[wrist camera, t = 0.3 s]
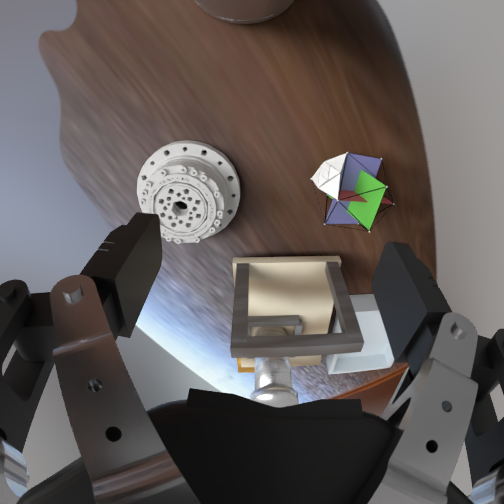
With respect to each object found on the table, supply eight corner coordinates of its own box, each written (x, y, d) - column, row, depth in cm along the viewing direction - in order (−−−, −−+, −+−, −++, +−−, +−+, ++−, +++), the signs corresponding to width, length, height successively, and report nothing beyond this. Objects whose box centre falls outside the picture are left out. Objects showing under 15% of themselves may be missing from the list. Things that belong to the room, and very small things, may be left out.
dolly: (229, 249, 33) (218, 348, 22) (336, 247, 33) (369, 342, 22) (239, 359, 44) (235, 439, 33) (316, 357, 44) (327, 435, 33)
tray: (340, 295, 37) (345, 312, 34) (410, 291, 36) (418, 306, 34) (325, 358, 44) (328, 374, 41) (385, 352, 44) (390, 367, 41)
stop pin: (250, 321, 36) (249, 395, 27) (292, 320, 35) (301, 394, 27) (251, 347, 38) (250, 416, 30) (290, 346, 38) (296, 415, 30)
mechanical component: (217, 245, 33) (258, 164, 28) (212, 271, 29) (258, 181, 24) (131, 211, 31) (159, 124, 26) (116, 233, 27) (143, 135, 22)
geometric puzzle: (410, 167, 25) (395, 178, 19) (386, 229, 29) (363, 259, 23) (344, 138, 28) (308, 142, 22) (326, 199, 32) (288, 219, 26)
